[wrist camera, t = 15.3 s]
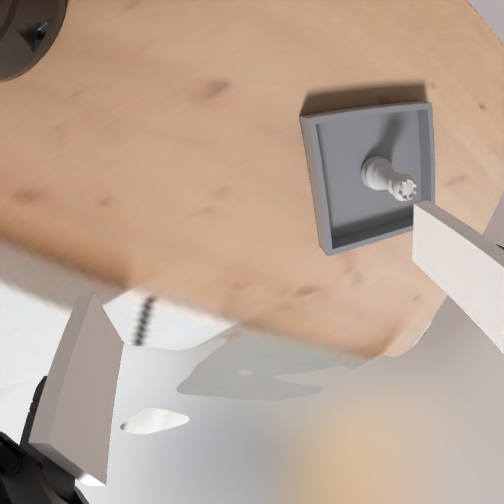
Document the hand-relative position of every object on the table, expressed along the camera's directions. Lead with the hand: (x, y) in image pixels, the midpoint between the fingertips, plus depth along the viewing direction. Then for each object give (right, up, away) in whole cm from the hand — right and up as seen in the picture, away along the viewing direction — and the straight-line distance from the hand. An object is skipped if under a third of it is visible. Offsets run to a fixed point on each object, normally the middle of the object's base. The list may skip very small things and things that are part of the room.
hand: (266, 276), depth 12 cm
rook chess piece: (+15, +11, +27) cm, 33 cm away
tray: (+15, +12, +28) cm, 34 cm away
